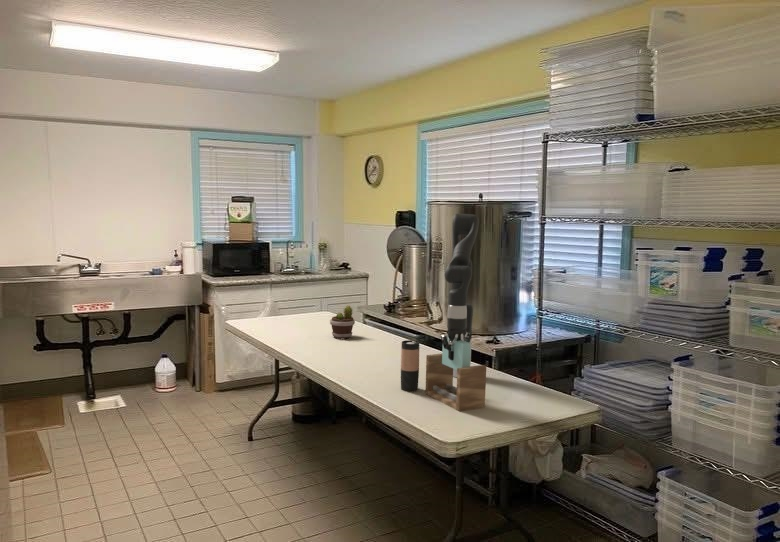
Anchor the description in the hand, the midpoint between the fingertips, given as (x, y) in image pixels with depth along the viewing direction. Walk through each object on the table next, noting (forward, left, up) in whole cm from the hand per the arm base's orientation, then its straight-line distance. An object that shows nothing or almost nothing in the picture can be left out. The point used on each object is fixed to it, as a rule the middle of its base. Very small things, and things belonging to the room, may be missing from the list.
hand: (455, 359), depth 232 cm
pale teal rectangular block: (0, 0, -3) cm, 3 cm away
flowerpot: (-125, +6, -17) cm, 126 cm away
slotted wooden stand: (0, 0, -16) cm, 16 cm away
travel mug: (-20, -9, -17) cm, 28 cm away
